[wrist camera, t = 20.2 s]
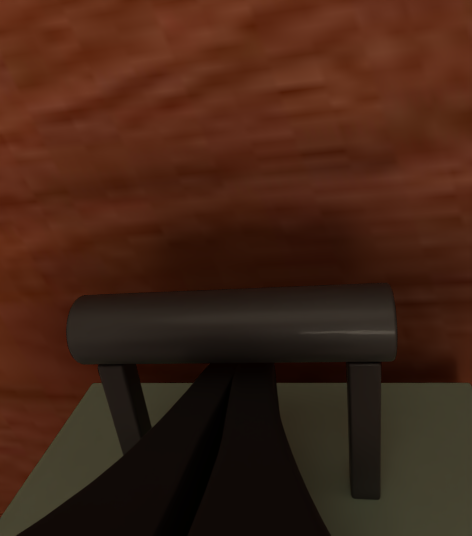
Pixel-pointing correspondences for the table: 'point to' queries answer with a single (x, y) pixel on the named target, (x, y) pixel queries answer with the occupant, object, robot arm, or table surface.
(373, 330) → the drawer
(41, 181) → the table surface
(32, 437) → the table surface
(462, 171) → the table surface
